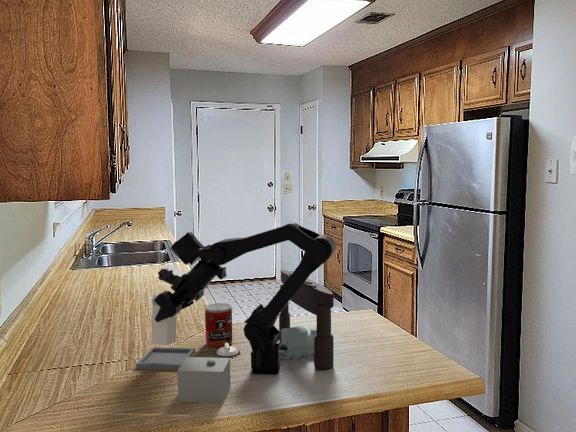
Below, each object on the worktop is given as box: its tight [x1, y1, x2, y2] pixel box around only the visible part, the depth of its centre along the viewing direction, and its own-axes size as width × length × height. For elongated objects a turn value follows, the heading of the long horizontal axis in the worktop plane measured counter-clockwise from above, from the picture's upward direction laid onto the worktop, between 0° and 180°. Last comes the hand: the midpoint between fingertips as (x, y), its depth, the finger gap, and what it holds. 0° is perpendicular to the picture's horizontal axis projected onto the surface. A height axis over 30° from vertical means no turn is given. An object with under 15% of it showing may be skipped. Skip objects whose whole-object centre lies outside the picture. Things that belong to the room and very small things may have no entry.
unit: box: [176, 356, 232, 404], centre depth 116 cm, size 10×8×8 cm
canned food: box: [204, 302, 233, 348], centre depth 148 cm, size 8×8×11 cm
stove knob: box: [213, 343, 241, 359], centre depth 141 cm, size 7×7×3 cm
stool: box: [278, 269, 335, 371], centre depth 140 cm, size 16×21×33 cm
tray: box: [135, 346, 196, 371], centre depth 136 cm, size 12×12×2 cm
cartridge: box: [150, 293, 178, 346], centre depth 135 cm, size 5×5×12 cm
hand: (160, 317), depth 135 cm, fingers closed on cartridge, 5 cm apart
